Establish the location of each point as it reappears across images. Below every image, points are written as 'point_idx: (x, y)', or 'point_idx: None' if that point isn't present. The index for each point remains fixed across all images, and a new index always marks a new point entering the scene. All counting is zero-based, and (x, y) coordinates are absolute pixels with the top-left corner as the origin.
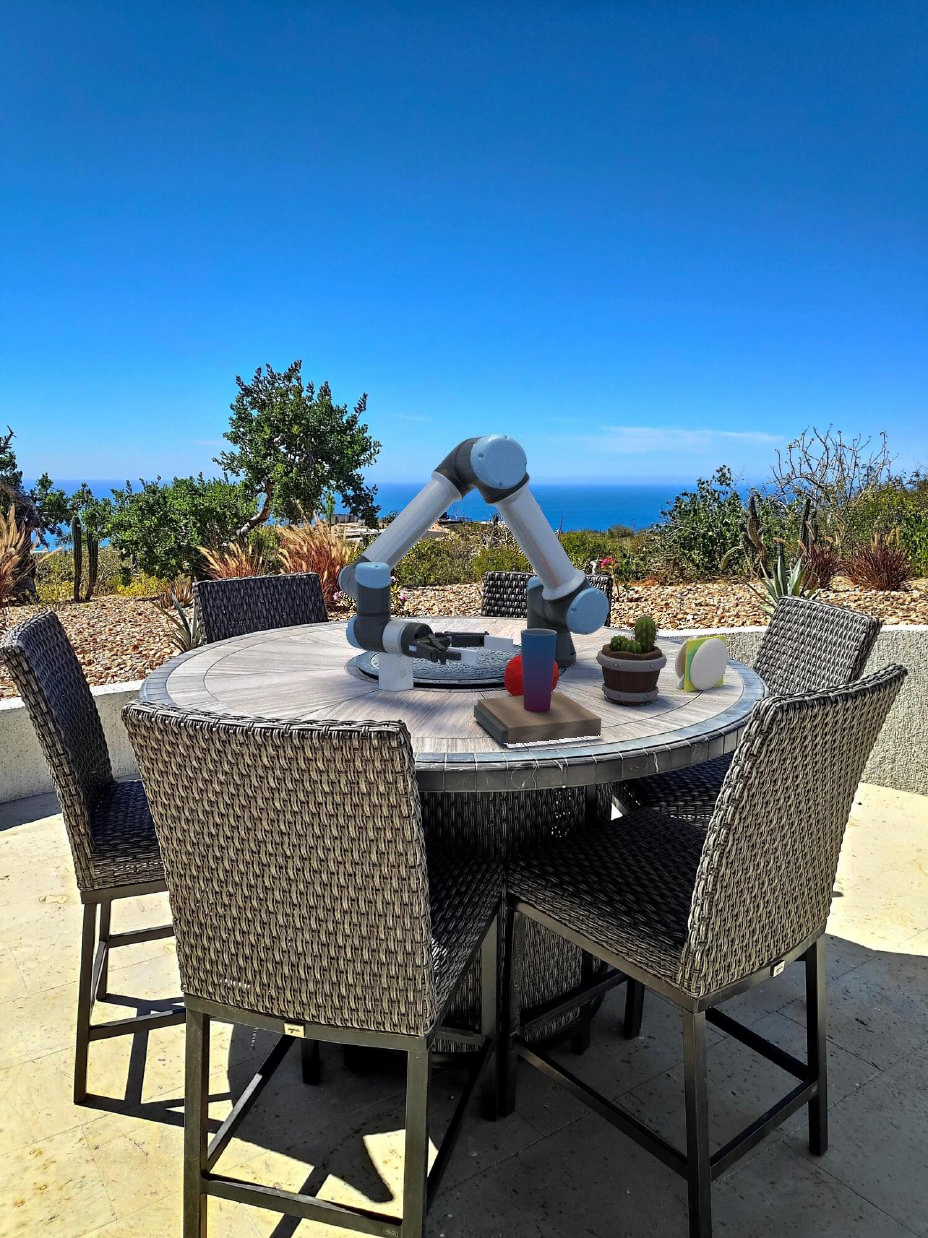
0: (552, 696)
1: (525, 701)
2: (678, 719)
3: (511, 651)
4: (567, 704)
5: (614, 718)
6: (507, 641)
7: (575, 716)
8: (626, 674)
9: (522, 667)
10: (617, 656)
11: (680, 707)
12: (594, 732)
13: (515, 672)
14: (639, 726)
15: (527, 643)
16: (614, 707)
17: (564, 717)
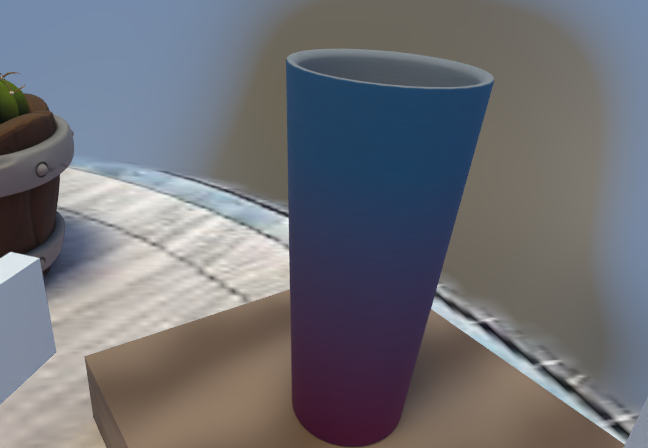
0: (154, 374)
1: (398, 406)
2: (164, 216)
3: (54, 347)
4: (257, 327)
5: (171, 294)
6: (13, 301)
7: None
8: (52, 184)
9: (411, 285)
10: (19, 141)
11: (69, 209)
12: None
13: None
14: (230, 260)
15: (478, 135)
16: (58, 295)
17: None
